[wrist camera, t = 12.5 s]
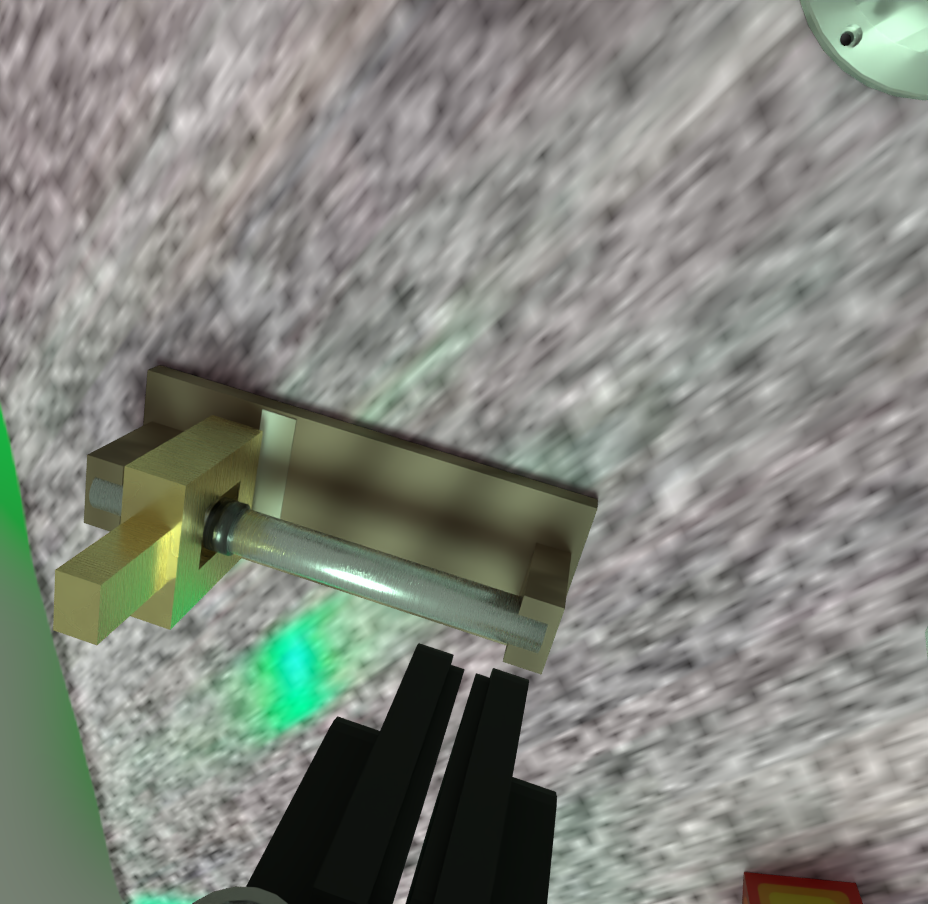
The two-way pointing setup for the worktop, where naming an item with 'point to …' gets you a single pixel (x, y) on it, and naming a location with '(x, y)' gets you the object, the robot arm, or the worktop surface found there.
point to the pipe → (355, 569)
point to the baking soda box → (796, 890)
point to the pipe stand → (380, 496)
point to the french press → (927, 640)
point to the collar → (159, 534)
